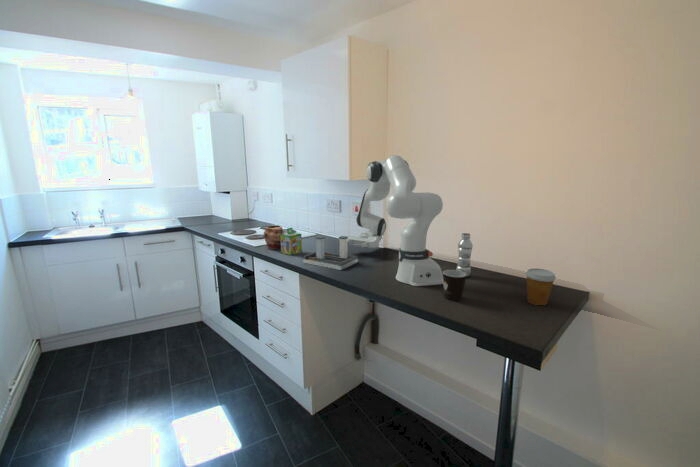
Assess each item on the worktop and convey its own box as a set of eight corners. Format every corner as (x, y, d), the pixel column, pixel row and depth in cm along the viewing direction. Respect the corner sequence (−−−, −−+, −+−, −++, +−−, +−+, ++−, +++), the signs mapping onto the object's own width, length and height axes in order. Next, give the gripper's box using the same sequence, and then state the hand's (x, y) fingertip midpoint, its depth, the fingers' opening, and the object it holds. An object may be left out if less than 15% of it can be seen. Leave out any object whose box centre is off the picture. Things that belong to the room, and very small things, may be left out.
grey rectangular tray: (357, 262, 169) (357, 255, 168) (340, 270, 156) (340, 263, 155) (321, 255, 182) (321, 249, 181) (303, 262, 168) (303, 256, 168)
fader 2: (347, 258, 169) (347, 236, 166) (344, 259, 166) (344, 237, 163) (342, 257, 170) (342, 235, 168) (339, 258, 168) (338, 236, 165)
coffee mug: (466, 303, 118) (468, 277, 116) (442, 301, 120) (443, 276, 118) (461, 291, 129) (463, 268, 127) (439, 290, 131) (441, 266, 129)
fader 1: (324, 258, 168) (324, 236, 166) (321, 260, 165) (320, 237, 163) (319, 257, 170) (319, 236, 167) (315, 259, 167) (315, 237, 165)
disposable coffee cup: (554, 302, 119) (558, 271, 117) (548, 310, 112) (553, 278, 110) (526, 295, 126) (529, 266, 123) (519, 302, 119) (523, 272, 116)
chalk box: (291, 255, 182) (290, 230, 179) (280, 253, 187) (279, 228, 184) (302, 252, 189) (301, 227, 186) (291, 250, 194) (290, 226, 191)
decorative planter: (258, 246, 203) (256, 225, 200) (274, 243, 211) (273, 222, 208) (273, 252, 189) (272, 229, 186) (291, 248, 197) (290, 226, 194)
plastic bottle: (469, 274, 150) (473, 233, 146) (470, 278, 144) (474, 236, 140) (455, 272, 152) (458, 232, 148) (456, 277, 146) (459, 235, 142)
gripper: (351, 232, 192) (338, 236, 180) (381, 236, 181) (369, 241, 170) (351, 242, 193) (338, 247, 181) (381, 247, 182) (369, 252, 171)
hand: (353, 244), depth 175 cm, fingers open, 8 cm apart
